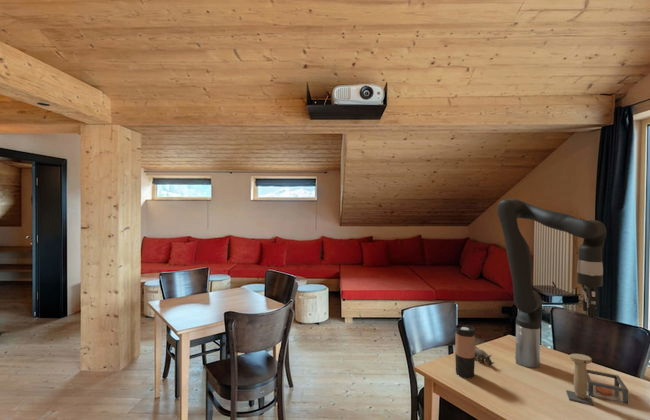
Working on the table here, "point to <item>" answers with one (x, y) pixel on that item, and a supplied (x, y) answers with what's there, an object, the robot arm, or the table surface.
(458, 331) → the travel mug
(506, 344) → the table surface
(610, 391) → the button
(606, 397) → the guard frame
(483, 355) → the rhino figurine
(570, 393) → the rubber mat
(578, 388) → the handle
